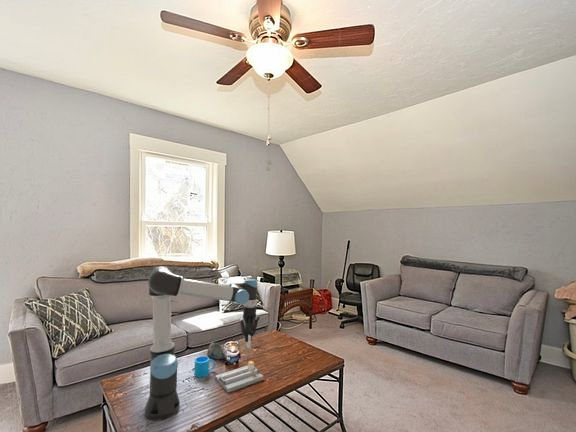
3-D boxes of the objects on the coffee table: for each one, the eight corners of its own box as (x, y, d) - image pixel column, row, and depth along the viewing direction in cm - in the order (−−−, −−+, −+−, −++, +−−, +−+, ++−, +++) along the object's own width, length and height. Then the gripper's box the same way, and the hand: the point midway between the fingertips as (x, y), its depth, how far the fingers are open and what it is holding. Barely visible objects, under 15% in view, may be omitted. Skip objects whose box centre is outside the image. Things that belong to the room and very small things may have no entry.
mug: (195, 378, 163) (196, 363, 163) (193, 371, 170) (193, 357, 171) (216, 373, 169) (217, 359, 169) (213, 367, 176) (213, 354, 176)
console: (227, 392, 150) (228, 385, 150) (215, 379, 163) (215, 372, 163) (263, 379, 164) (263, 373, 164) (249, 368, 176) (249, 362, 177)
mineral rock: (228, 360, 185) (228, 344, 186) (211, 364, 180) (212, 348, 180) (221, 352, 196) (221, 338, 197) (205, 356, 190) (206, 341, 191)
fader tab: (250, 373, 166) (250, 363, 166) (247, 371, 168) (247, 361, 169) (253, 372, 168) (254, 362, 168) (251, 370, 170) (251, 360, 170)
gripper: (243, 309, 161) (241, 352, 160) (262, 306, 169) (261, 346, 168) (236, 305, 167) (234, 347, 166) (256, 303, 175) (254, 342, 174)
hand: (248, 347), depth 167 cm, fingers closed
